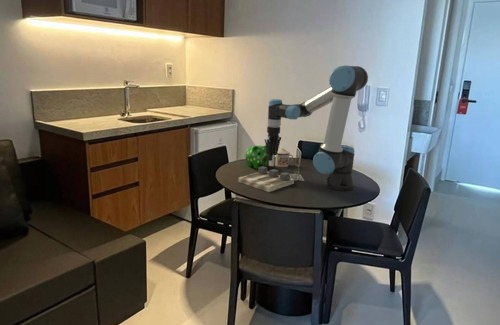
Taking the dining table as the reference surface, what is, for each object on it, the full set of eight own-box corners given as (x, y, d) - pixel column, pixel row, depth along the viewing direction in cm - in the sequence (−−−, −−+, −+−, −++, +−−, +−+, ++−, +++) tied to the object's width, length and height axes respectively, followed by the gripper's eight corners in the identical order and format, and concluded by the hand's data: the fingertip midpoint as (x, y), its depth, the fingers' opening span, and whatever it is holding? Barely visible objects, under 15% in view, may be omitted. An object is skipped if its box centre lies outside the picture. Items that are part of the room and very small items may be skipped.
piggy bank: (258, 172, 225) (259, 148, 221) (240, 165, 238) (240, 142, 235) (275, 168, 234) (276, 145, 230) (256, 162, 247) (257, 140, 243)
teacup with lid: (277, 167, 236) (278, 150, 233) (273, 164, 245) (274, 146, 242) (295, 167, 239) (296, 149, 236) (290, 163, 248) (291, 146, 245)
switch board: (294, 183, 206) (294, 178, 205) (268, 192, 190) (269, 186, 189) (264, 174, 220) (264, 170, 219) (238, 182, 204) (238, 177, 203)
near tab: (289, 179, 204) (289, 173, 203) (284, 180, 201) (285, 175, 200) (284, 177, 206) (284, 172, 205) (279, 179, 203) (280, 173, 202)
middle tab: (278, 175, 209) (278, 170, 208) (273, 177, 206) (273, 171, 205) (273, 174, 211) (273, 169, 210) (268, 175, 208) (269, 170, 207)
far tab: (267, 172, 214) (267, 167, 213) (262, 174, 211) (262, 168, 210) (262, 171, 216) (262, 166, 215) (258, 172, 213) (258, 167, 213)
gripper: (275, 124, 220) (273, 162, 226) (261, 126, 210) (259, 166, 217) (285, 126, 215) (283, 165, 221) (271, 128, 205) (269, 168, 212)
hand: (271, 165), depth 219 cm, fingers closed
